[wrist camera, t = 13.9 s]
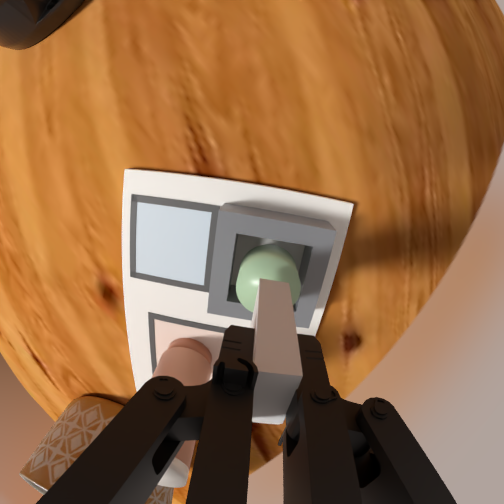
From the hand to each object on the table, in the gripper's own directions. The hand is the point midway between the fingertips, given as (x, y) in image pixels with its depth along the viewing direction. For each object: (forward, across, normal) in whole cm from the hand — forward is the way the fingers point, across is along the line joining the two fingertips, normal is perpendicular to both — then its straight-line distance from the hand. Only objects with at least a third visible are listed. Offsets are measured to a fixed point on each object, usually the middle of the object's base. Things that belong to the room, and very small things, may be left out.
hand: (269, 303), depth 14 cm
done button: (+4, 0, 0) cm, 4 cm away
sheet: (+6, -3, -7) cm, 10 cm away
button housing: (+6, 0, 0) cm, 6 cm away
